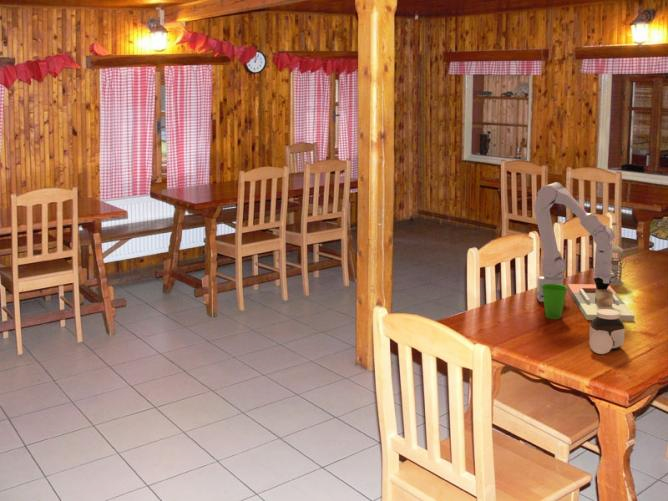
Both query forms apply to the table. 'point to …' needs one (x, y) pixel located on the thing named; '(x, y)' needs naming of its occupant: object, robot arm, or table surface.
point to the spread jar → (606, 331)
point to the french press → (616, 264)
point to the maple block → (604, 297)
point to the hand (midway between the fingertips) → (601, 297)
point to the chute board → (588, 307)
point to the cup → (554, 299)
